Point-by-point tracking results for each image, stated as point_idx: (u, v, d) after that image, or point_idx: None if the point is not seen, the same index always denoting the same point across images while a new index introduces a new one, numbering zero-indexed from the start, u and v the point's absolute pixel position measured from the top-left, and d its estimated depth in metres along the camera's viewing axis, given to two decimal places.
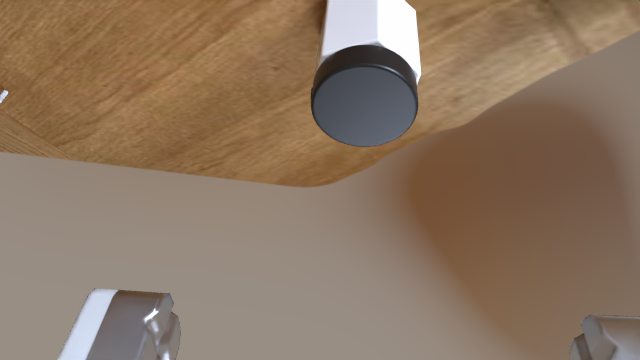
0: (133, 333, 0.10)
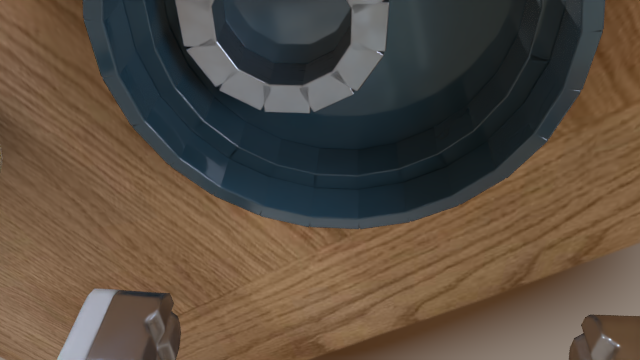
0: (133, 333, 0.10)
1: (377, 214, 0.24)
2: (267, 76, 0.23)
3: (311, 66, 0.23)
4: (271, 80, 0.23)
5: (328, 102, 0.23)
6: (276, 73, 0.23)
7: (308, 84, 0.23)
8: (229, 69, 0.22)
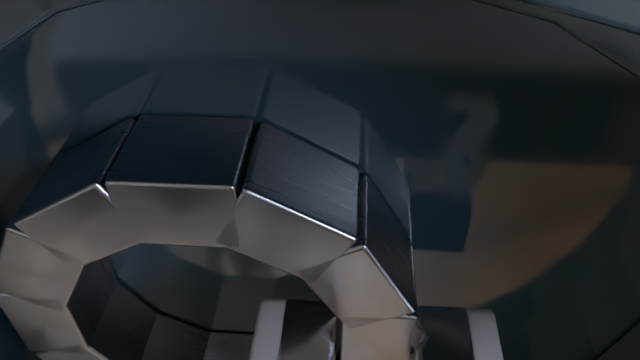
0: (317, 343, 0.10)
1: None
2: None
3: None
4: None
5: None
6: None
7: None
8: None
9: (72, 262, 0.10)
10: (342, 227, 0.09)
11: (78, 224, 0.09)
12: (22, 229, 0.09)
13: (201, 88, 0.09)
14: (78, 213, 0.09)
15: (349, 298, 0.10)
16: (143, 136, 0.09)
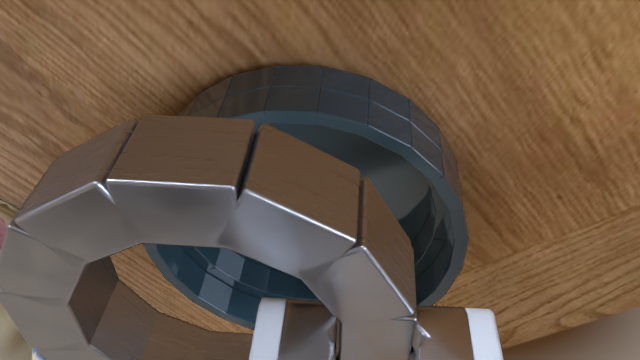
0: (317, 344, 0.10)
1: None
2: None
3: None
4: None
5: None
6: None
7: None
8: None
9: (73, 261, 0.10)
10: (342, 228, 0.09)
11: (79, 223, 0.09)
12: (24, 228, 0.09)
13: None
14: (80, 212, 0.09)
15: (348, 299, 0.10)
16: (145, 136, 0.09)
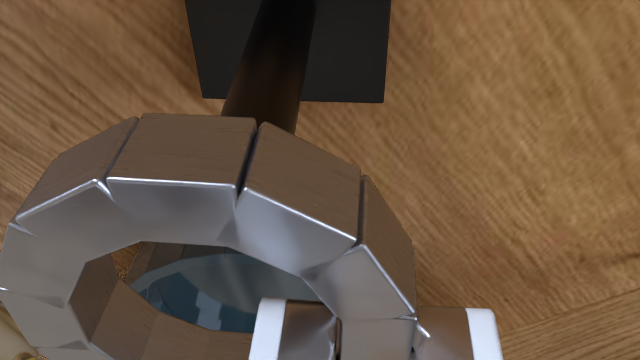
0: (317, 344, 0.10)
1: None
2: None
3: None
4: None
5: None
6: None
7: None
8: None
9: (73, 259, 0.10)
10: (342, 227, 0.09)
11: (79, 221, 0.09)
12: (24, 226, 0.09)
13: None
14: (80, 210, 0.09)
15: (349, 298, 0.10)
16: (145, 134, 0.09)
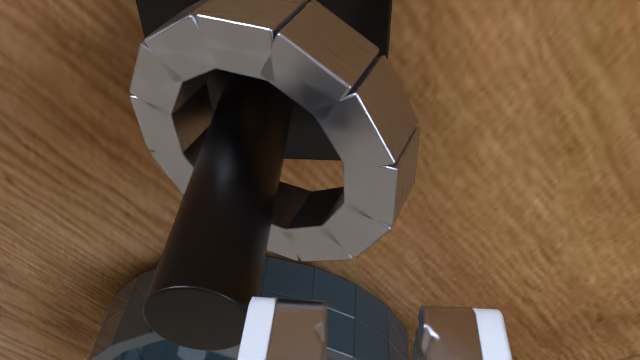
0: (306, 343, 0.10)
1: None
2: None
3: (312, 200, 0.17)
4: None
5: (319, 257, 0.17)
6: None
7: (293, 230, 0.16)
8: None
9: (175, 77, 0.14)
10: (343, 77, 0.12)
11: (180, 46, 0.13)
12: (149, 47, 0.14)
13: None
14: (180, 38, 0.13)
15: (347, 141, 0.13)
16: None
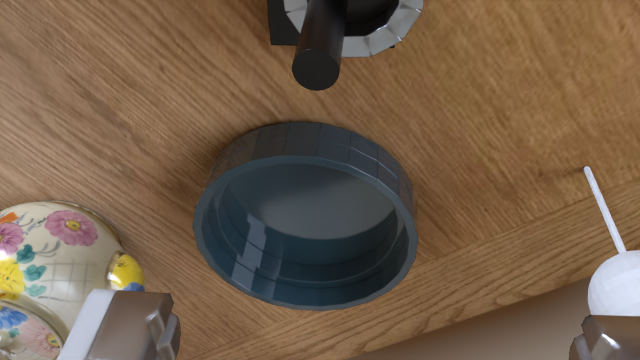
0: (133, 333, 0.10)
1: (329, 304, 0.48)
2: None
3: (370, 24, 0.34)
4: None
5: (382, 48, 0.33)
6: (346, 29, 0.34)
7: (369, 35, 0.33)
8: None
9: None
10: None
11: None
12: None
13: (283, 164, 0.43)
14: None
15: None
16: None
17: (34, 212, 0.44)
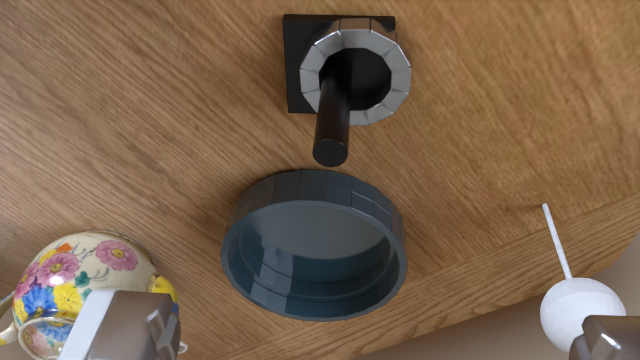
0: (133, 333, 0.10)
1: (333, 316, 0.57)
2: None
3: (368, 99, 0.42)
4: None
5: (378, 119, 0.42)
6: None
7: (367, 110, 0.42)
8: None
9: (325, 55, 0.39)
10: (392, 40, 0.38)
11: (330, 42, 0.38)
12: (315, 46, 0.38)
13: None
14: (331, 39, 0.38)
15: (394, 62, 0.39)
16: (344, 22, 0.38)
17: (85, 242, 0.53)
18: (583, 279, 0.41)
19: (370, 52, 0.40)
